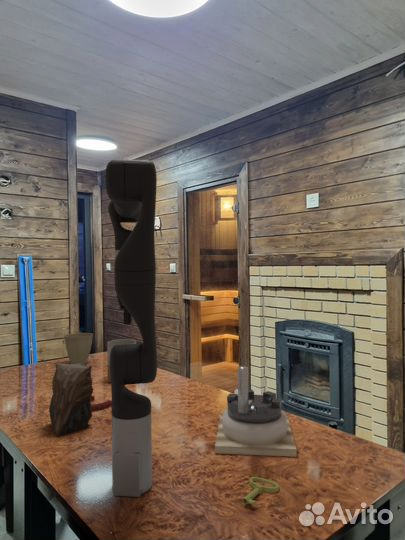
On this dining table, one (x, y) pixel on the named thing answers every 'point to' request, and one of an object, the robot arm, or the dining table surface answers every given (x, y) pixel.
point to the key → (259, 489)
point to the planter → (110, 346)
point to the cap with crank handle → (252, 403)
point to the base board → (276, 449)
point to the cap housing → (255, 430)
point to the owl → (71, 398)
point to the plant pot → (78, 347)
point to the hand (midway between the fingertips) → (127, 324)
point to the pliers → (100, 405)
